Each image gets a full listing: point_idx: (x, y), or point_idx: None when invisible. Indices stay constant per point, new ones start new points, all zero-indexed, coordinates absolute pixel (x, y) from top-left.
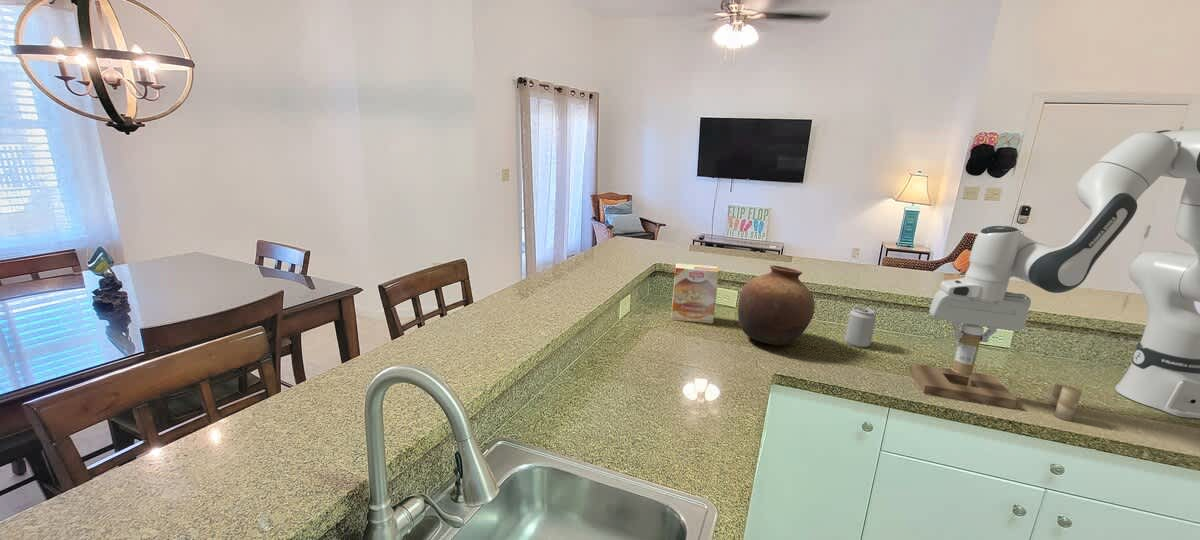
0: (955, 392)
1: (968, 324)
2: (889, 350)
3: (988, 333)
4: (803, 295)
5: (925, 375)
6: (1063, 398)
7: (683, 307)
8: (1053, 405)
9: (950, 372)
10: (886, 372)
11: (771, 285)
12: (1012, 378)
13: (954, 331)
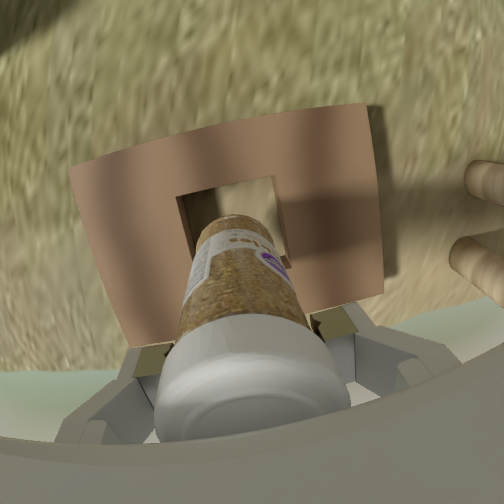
0: None
1: (207, 430)
2: (39, 13)
3: (377, 385)
4: None
5: (120, 267)
6: (482, 290)
7: None
8: (468, 190)
9: (207, 168)
10: (32, 233)
11: None
12: (416, 27)
13: (121, 371)
